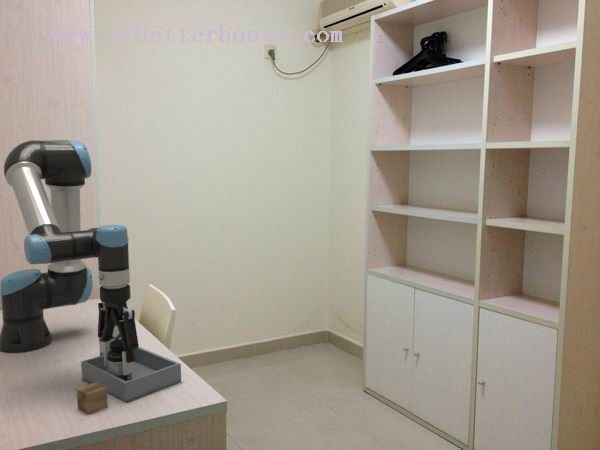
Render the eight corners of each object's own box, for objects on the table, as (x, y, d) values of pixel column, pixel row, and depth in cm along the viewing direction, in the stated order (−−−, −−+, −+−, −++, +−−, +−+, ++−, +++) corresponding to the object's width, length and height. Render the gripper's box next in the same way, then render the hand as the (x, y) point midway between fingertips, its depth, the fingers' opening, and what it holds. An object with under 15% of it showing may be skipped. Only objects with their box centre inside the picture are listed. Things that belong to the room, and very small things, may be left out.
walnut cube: (77, 408, 136) (76, 388, 135) (97, 401, 140) (96, 382, 139) (88, 415, 133) (87, 394, 132) (107, 407, 136) (106, 388, 136)
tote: (82, 379, 153) (81, 361, 152) (135, 361, 165) (135, 345, 164) (126, 402, 138) (125, 383, 138) (181, 381, 151) (180, 363, 150)
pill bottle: (123, 374, 153) (123, 336, 151) (136, 381, 149) (136, 342, 147) (103, 381, 148) (102, 342, 146) (116, 389, 145) (115, 349, 143)
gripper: (80, 281, 150) (85, 363, 153) (124, 295, 136) (128, 384, 139) (106, 276, 155) (110, 355, 158) (151, 289, 141) (154, 375, 144)
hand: (119, 368), depth 149 cm, fingers open, 8 cm apart
